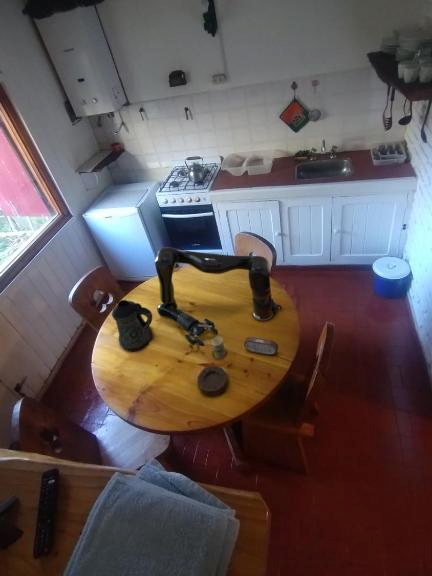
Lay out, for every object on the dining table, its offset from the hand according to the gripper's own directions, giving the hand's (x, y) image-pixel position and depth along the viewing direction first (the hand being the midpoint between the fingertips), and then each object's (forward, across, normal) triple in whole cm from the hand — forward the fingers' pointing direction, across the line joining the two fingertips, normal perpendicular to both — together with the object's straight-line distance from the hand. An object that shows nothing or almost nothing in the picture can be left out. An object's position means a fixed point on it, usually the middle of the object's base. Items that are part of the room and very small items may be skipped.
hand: (210, 338), depth 157 cm
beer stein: (-34, -19, +7) cm, 40 cm away
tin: (+19, +13, +7) cm, 24 cm away
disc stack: (+4, 0, +7) cm, 8 cm away
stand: (+14, -13, +7) cm, 20 cm away
